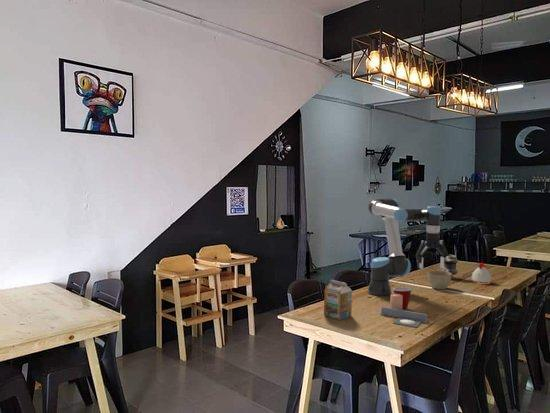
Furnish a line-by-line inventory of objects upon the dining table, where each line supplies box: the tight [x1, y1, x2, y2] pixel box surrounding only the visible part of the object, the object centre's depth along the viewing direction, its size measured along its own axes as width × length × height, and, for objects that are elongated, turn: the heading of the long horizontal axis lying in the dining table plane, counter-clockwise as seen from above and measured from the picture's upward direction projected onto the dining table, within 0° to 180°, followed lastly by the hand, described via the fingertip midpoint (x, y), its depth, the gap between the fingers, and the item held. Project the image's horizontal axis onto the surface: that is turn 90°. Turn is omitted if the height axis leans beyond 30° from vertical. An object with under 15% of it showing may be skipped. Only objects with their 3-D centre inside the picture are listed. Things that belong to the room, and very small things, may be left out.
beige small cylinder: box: [389, 293, 403, 310], centre depth 239 cm, size 6×6×10 cm
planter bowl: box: [426, 270, 453, 290], centre depth 300 cm, size 16×16×11 cm
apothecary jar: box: [440, 254, 459, 280], centre depth 333 cm, size 12×12×18 cm
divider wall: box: [379, 306, 428, 324], centre depth 230 cm, size 24×4×4 cm, turn 58°
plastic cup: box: [392, 286, 413, 311], centre depth 248 cm, size 11×11×12 cm
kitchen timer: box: [470, 262, 492, 283], centre depth 320 cm, size 14×14×15 cm
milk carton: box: [323, 279, 353, 321], centre depth 232 cm, size 11×11×19 cm
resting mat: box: [392, 317, 423, 329], centre depth 222 cm, size 12×11×1 cm
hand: (431, 268), depth 252 cm, fingers open, 13 cm apart
